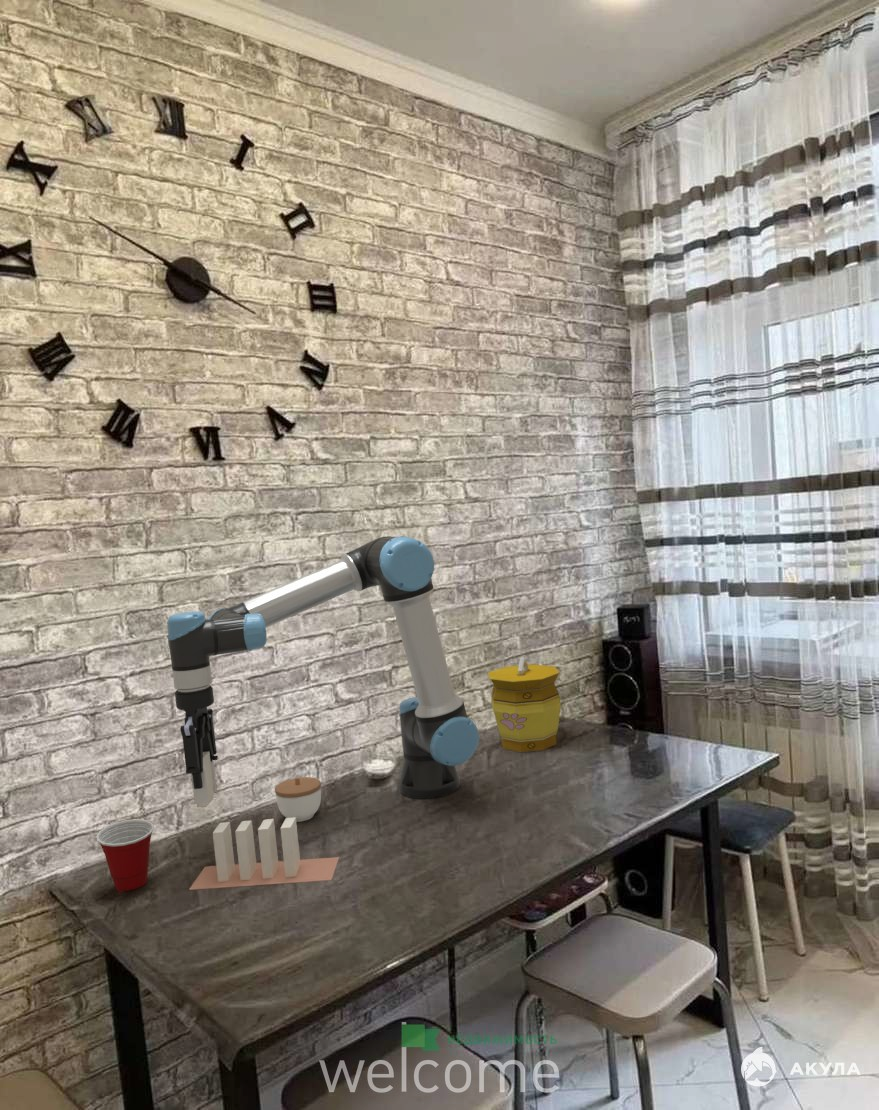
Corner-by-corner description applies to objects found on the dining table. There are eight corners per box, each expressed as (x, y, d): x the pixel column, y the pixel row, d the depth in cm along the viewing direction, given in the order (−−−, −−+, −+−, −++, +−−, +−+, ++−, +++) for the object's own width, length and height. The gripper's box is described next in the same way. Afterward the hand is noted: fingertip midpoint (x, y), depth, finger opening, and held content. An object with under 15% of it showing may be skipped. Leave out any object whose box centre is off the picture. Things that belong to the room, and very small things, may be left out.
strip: (339, 859, 171) (339, 857, 171) (331, 882, 161) (331, 879, 161) (205, 869, 172) (205, 866, 172) (189, 892, 162) (189, 889, 162)
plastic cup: (113, 906, 159) (106, 846, 158) (95, 888, 167) (88, 831, 166) (168, 886, 166) (162, 827, 165) (149, 869, 174) (142, 814, 173)
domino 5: (300, 865, 168) (295, 817, 168) (295, 876, 164) (290, 827, 163) (290, 865, 169) (286, 818, 168) (285, 877, 164) (280, 828, 163)
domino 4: (278, 866, 169) (273, 818, 168) (273, 878, 164) (267, 828, 163) (269, 867, 169) (264, 819, 168) (263, 878, 164) (257, 829, 163)
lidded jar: (268, 823, 194) (264, 784, 193) (296, 806, 203) (292, 768, 203) (305, 828, 189) (301, 788, 188) (332, 810, 198) (328, 772, 198)
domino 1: (213, 797, 175) (209, 751, 174) (206, 806, 170) (201, 759, 169) (204, 798, 175) (200, 752, 174) (196, 807, 170) (192, 759, 170)
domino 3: (256, 868, 169) (251, 820, 168) (250, 879, 164) (245, 830, 163) (247, 868, 169) (242, 821, 168) (240, 880, 164) (235, 831, 163)
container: (572, 733, 243) (566, 648, 241) (556, 756, 223) (549, 665, 221) (503, 731, 250) (497, 649, 249) (482, 754, 231) (474, 665, 229)
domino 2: (235, 869, 169) (229, 822, 168) (228, 881, 164) (222, 832, 163) (225, 870, 169) (220, 822, 168) (218, 881, 164) (212, 832, 163)
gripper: (190, 678, 180) (202, 783, 182) (159, 700, 162) (172, 815, 164) (224, 676, 180) (235, 780, 182) (197, 697, 162) (210, 812, 164)
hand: (205, 797), depth 173 cm, fingers closed on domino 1, 5 cm apart
